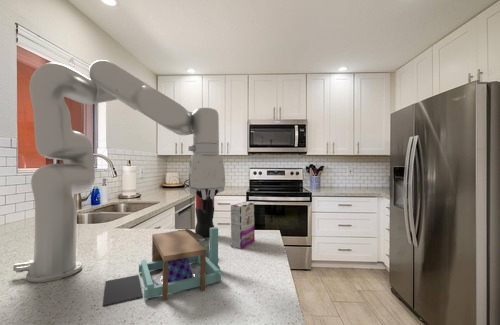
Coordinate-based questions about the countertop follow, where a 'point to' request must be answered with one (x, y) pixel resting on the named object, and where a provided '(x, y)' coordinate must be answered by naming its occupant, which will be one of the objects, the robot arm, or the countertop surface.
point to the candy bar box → (242, 224)
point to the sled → (211, 277)
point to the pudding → (178, 271)
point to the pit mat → (122, 290)
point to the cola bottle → (203, 219)
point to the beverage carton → (199, 240)
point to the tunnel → (177, 253)
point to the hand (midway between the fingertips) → (207, 212)
